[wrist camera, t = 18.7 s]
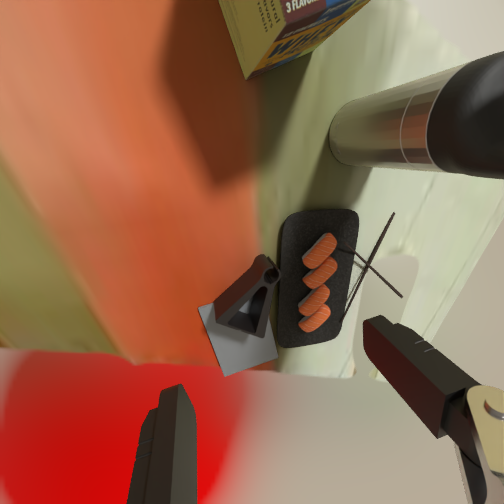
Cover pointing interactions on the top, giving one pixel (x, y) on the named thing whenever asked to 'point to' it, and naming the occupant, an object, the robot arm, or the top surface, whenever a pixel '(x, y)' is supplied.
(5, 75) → the top surface
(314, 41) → the protein box
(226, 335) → the mat
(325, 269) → the sushi plate
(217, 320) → the phone stand
